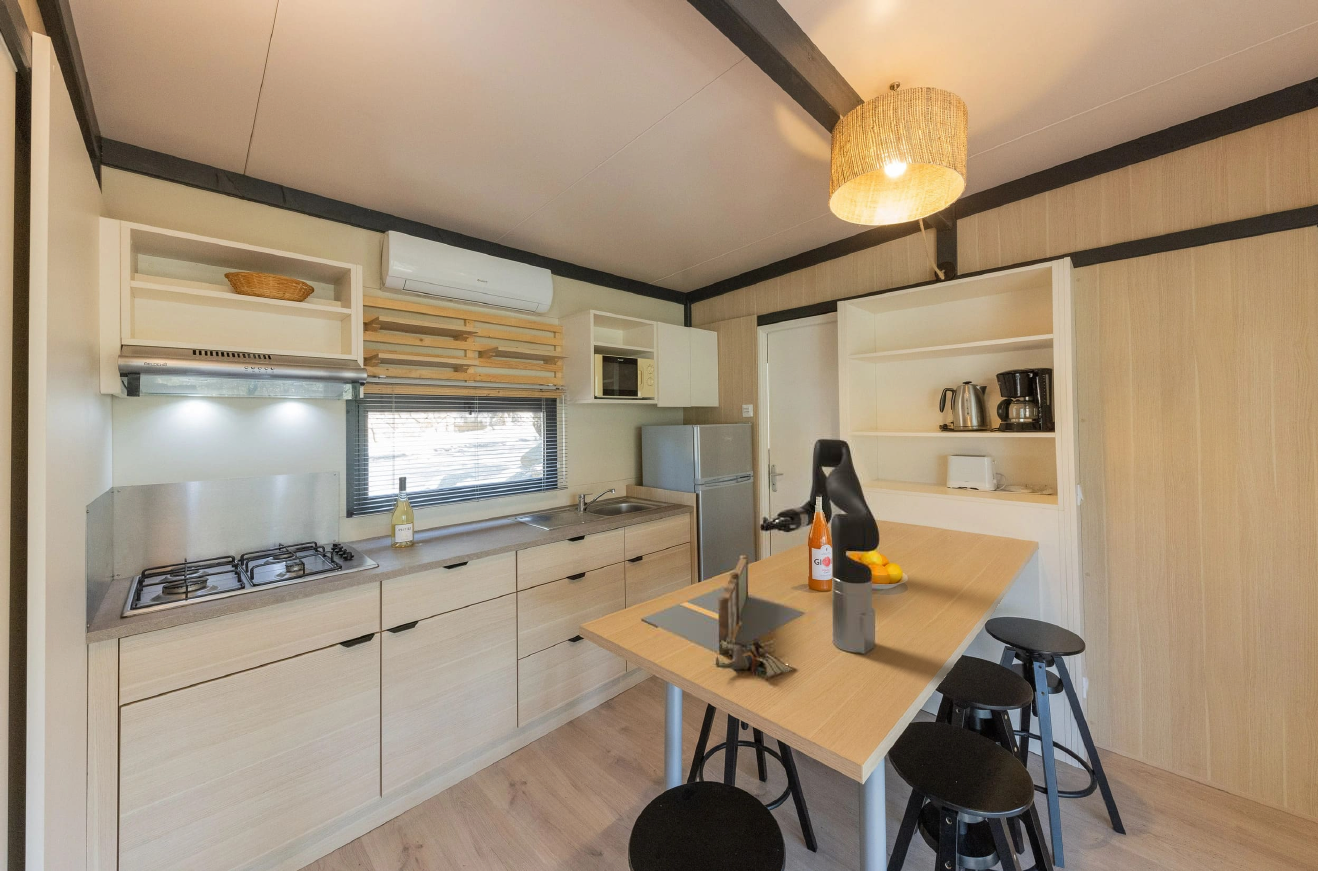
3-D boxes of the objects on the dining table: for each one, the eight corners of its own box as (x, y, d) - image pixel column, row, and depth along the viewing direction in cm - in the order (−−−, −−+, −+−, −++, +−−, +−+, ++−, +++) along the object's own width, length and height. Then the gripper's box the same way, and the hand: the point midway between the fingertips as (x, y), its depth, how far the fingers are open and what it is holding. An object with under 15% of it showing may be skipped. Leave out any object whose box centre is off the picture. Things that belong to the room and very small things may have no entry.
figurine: (743, 619, 124) (808, 642, 114) (741, 641, 125) (805, 666, 115) (704, 651, 108) (776, 681, 98) (702, 676, 108) (773, 709, 99)
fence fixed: (731, 621, 136) (730, 572, 136) (739, 621, 136) (739, 572, 135) (718, 654, 117) (717, 597, 117) (727, 655, 117) (727, 598, 116)
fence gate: (739, 620, 136) (739, 574, 135) (731, 619, 137) (730, 574, 136) (748, 595, 155) (748, 555, 154) (741, 594, 155) (740, 554, 155)
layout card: (807, 614, 141) (807, 612, 141) (725, 659, 116) (725, 656, 116) (724, 587, 164) (724, 586, 164) (640, 620, 139) (640, 618, 139)
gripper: (775, 506, 173) (746, 513, 162) (809, 511, 163) (780, 519, 152) (776, 527, 174) (746, 535, 162) (809, 533, 164) (780, 542, 152)
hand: (763, 527), depth 157 cm, fingers closed
